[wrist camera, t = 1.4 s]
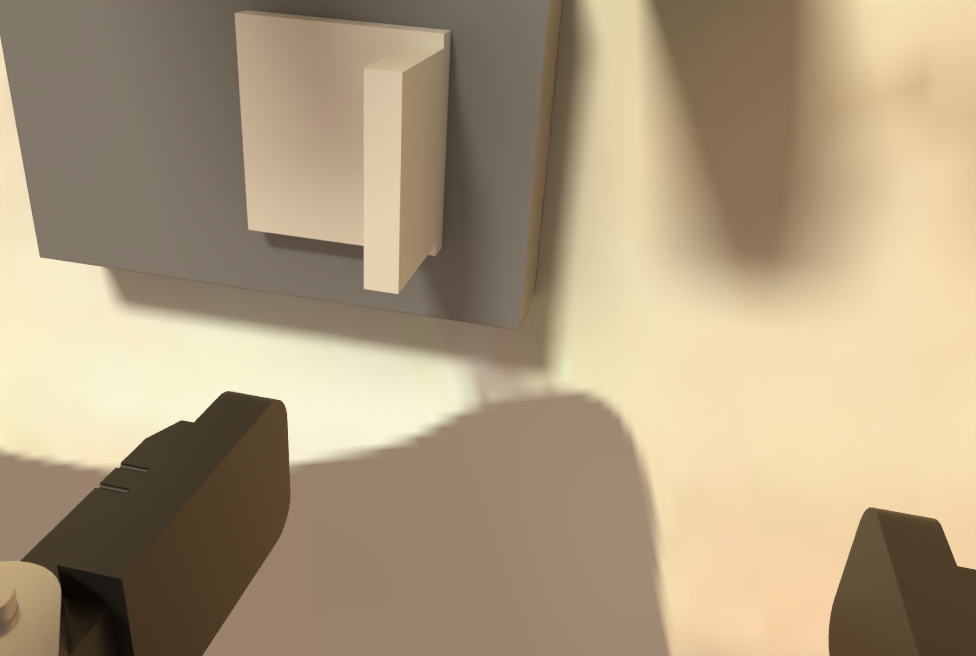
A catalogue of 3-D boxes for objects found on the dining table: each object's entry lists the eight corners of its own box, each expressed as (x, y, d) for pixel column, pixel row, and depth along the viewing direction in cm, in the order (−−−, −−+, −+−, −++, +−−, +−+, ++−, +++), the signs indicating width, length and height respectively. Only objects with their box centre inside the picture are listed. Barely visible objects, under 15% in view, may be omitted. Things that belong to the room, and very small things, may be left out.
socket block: (568, -64, 27) (554, -60, 24) (534, 294, 32) (519, 330, 29) (39, -106, 29) (-26, -106, 27) (89, 230, 35) (40, 257, 32)
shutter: (451, 30, 26) (402, 55, 21) (442, 247, 29) (397, 307, 24) (246, 10, 27) (162, 30, 22) (259, 221, 30) (186, 275, 25)
